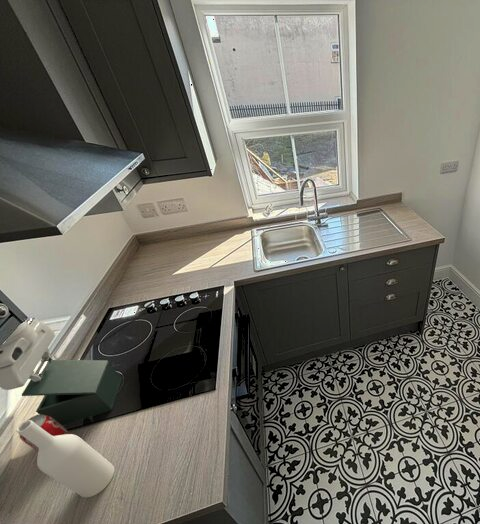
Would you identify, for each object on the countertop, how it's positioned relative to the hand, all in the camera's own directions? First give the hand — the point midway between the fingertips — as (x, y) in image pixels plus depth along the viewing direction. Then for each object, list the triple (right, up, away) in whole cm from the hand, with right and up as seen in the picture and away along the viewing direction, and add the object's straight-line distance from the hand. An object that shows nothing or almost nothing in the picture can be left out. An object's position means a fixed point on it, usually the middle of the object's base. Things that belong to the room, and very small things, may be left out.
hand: (43, 370), depth 88 cm
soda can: (+3, -23, +1) cm, 23 cm away
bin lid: (+4, -4, +4) cm, 7 cm away
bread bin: (+4, -15, +12) cm, 20 cm away
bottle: (+23, -28, -7) cm, 37 cm away
